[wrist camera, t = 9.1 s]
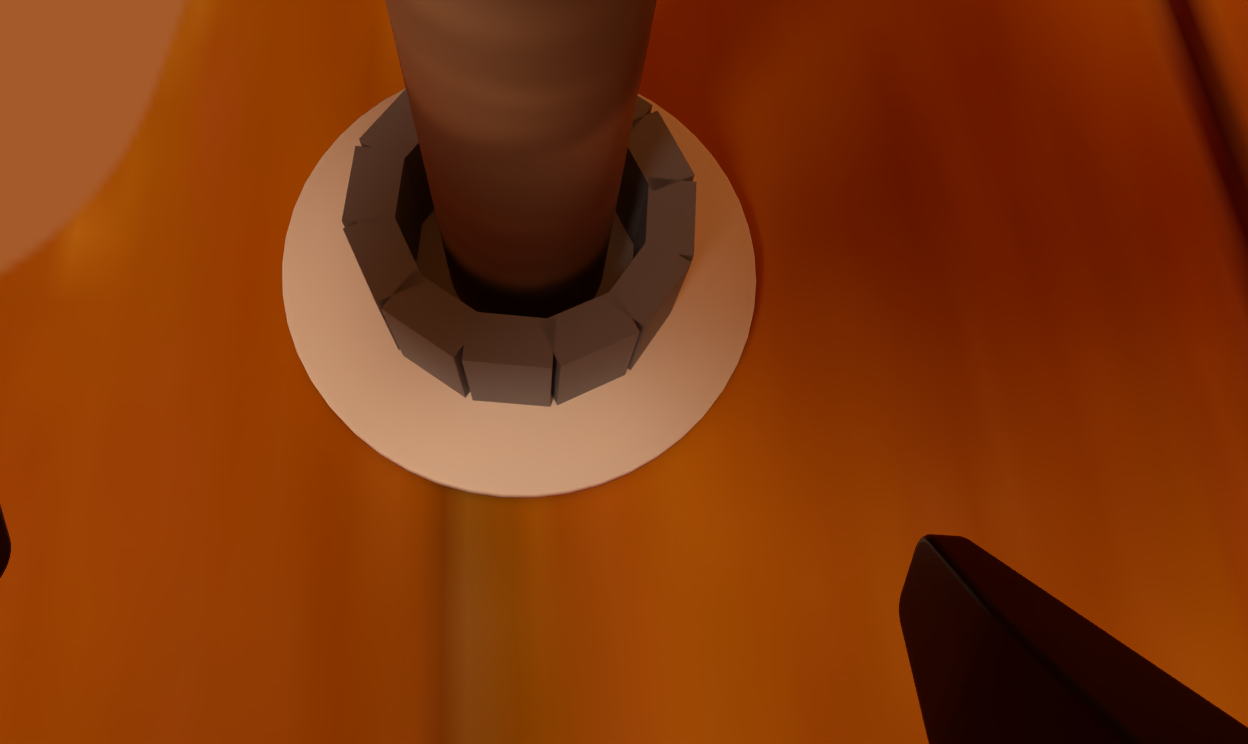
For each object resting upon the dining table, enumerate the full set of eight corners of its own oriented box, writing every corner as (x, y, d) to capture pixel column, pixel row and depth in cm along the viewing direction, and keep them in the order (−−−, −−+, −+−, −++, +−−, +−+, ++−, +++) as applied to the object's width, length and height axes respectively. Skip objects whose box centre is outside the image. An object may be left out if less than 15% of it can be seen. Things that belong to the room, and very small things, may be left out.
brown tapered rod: (492, 363, 19) (354, -522, 4) (419, 230, 19) (101, -890, 5) (634, 293, 19) (911, -634, 5) (559, 168, 20) (621, -937, 6)
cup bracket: (747, 516, 19) (791, 491, 15) (247, 478, 18) (182, 444, 15) (752, 102, 22) (789, 12, 19) (332, 55, 21) (295, -49, 18)
